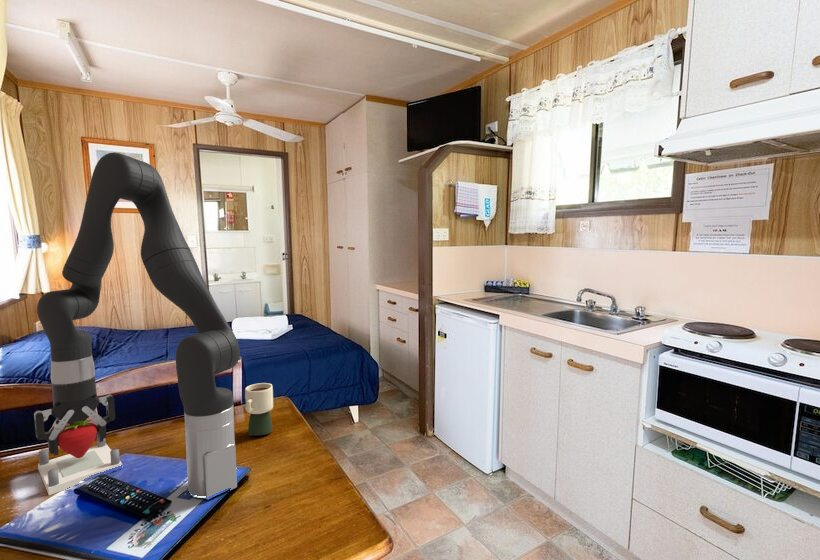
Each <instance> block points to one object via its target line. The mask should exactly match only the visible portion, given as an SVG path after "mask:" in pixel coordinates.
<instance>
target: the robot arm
mask: <svg viewBox="0 0 820 560" xmlns="http://www.w3.org/2000/svg"><path fill="white" fill-rule="evenodd" d="M120 199H121V200H125V201H129V202H132V203H133V204H134V205H135V207H136V209H137V211H138V213H139V215H140V217H141V219H142V222H143V227H144V232H143V236H142V240H141V245H140V247H141V248H140V258H141V262H142V265H143V266H144V268H145V271H146V273H147V275H148V277H149V279H150V281H151V283H152V285H153V286H154V288H155V289H156V290H157V291H158V292H159V293H161V295H162V296H163V297H165V298H166V299H167V300H169V301H170V302H172V303H173V304H174V305H175V306H177V307H178V308H179V309H180V310H182V311H183V313H185V314H186V316H187V317H188V318H189V320H190V321H191V322H192V324H193V326H194V327H195V329H196V332H197V333H194V334H192V335H188V336H185V337H184V338H182V339H181V340H180V341H179V343H178V344H177V347H176V350H175V351H176V352H175V367H176V368H175V369H176V376H177V385H178V394H179V398H180V400H181V402H182V406H183V411H184V412H183V414H184V431H185V432H184V433H185V434H184V436H185V452H186V453H185V454H186V475H187V492H188V491H189V492H190V493H191V494H193V495H197V496H206V497H207V498H208V497H209V496H212V495H214V494H216V493H218V492H220V491H223V490H225V489H228V488H231V489H230V491H232V490H234V489H236V488H238V480H237V478H238V477H237V476H238V475H237V455H236V451H237V450H236V439H235V438H236V437H235V411H234V410H235V409H234V393H233V391H232V390H230V389H229V388H227V387H218V386H217V385H216V379H215V375H218V374H220V373H224V372H226V371H228V370H230V369H232V368H234V367H236V365H237V364H238V363H239V360H240V356H241V355H240V354H241V350H240V345H239V341H238V339H237V337H236V336H235V333H234V332H233V330H232V327H231V326H230V324H229V323H228V322H227V319H226V318H225V317H224V315H223V313H222V312H221V310H220V308H219V307H218V304H217V303H216V301H215V299H214V298H213V295H212V293H211V291H210V289H209V287H208V285H207V283H206V281H205V279H204V278H203V275H202V273H201V271H200V268H199V265H198V264H197V261H196V259H195V257H194V254H193V253H192V250H191V248H190V246H189V244H188V243H187V241H186V239H185V236H184V235H183V232H182V229H181V228H180V225H179V223H178V221H177V219H176V216H175V214H174V211H173V209H172V206H171V202H170V199H169V196H168V193H167V190H166V187H165V184H164V181H163V179H162V176H161V174H160V173H159V171H158V170H157V169H156V168H155V167H154V166H153V165H151V164H150V163H147V162H145V161H144V160H140V159H137V158H135V157H132V156H129V155H126V154H124V153H120V152H109V153H106V154H104V155H102V156H101V157H100V159H99V160H98V161H97V162H96V165H95V166H94V169H93V172H92V175H91V178H90V182H89V187H88V191H87V196H86V200H85V204H84V209H83V214H82V217H81V222H80V227H79V230H78V233H77V236H76V238H75V241H74V244H73V246H72V247H71V251H70V252H69V255H67V256H68V257H67V258H66V261H65V264H64V265H63V268H62V272H61V273H62V276H63V278H64V279H65V280H66V281H68V283H69V282H70V283H71V286H70V287H69V288H68V289H67V288H66V289H60V290H57V289H56V290H51V291H48V292H46V293H44V294H42V296H41V297H40V298H39V300H38V302H37V304H36V305H37V306H36V314H37V317H38V320H39V323H40V324H41V326H42V328H43V330H44V333H45V336H46V337H47V340H48V341H49V348H50V359H51V360H50V361H51V362H50V381H51V392H52V407H51V408H49V409H46V410H40V409H39V410H38V409H37V410H35V411H34V412H33V419H34V431H35V436H36V438H37V440H38V441H44V440H45V441H47V446H48V448H47V449H48V453H49V454H51V455H53V456H54V457H55V456H58V455H59V445H58V439H57V437H58V435H59V434H60V433H61V432H62V431H63V430H64V429H65V428H64V427H65V426H67V424H68V425H71V424H73V423H75V422H77V421H87V419H89V418H90V419H91V420H92V421H94V422H95V423H97V424H96V426H97V428H98V433H97V436H96V438H97V437H98V441H99V442H103V439H104V438H105V439H106V438H107V424H108V423H111V422H113V421H115V419H116V409H115V408H116V407H115V406H116V404H115V397H114V396H113V395H112V394H110V393H108V394H106V395H105V396H101V397H98V395H97V385H96V383H97V382H96V371H95V370H96V369H95V360H94V358H93V348H92V337H91V333H90V332H88V331H87V330H83V329H77V328H76V325H75V324H74V321H75V320H81V319H85V318H88V317H90V316H91V315H92V314H93V313H94V312H95V311H96V310H97V308H98V306H99V303H100V297H101V291H102V279H103V277H104V276H105V274H106V272H107V269H108V267H109V265H110V263H111V261H112V258H113V255H114V248H115V247H114V246H115V245H114V244H115V243H114V236H113V231H112V216H113V212H114V209H115V207H116V205H117V204H118V202H119V201H120ZM100 403H101V404H102V405H103V406H105V411H106V412H105V414H106V416H105V415H104V417H102V416H100V415H99V414H98V412H96V411H95V410H96V409H97V408H98V406H99V405H100ZM50 415H52V416H53V417H54V418H56V419H55V420H54V422H53V424H52V427H51V428H50V429H49V430H48V431H45V422H46V421H47V420H48V419H49V416H50Z"/></svg>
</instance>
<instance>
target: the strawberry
mask: <svg viewBox="0 0 820 560" xmlns="http://www.w3.org/2000/svg"><path fill="white" fill-rule="evenodd" d="M92 421H93V419H88V420H83V421H77V422H75V423H72V424H68V425H65V426H64V428H63V429H62V430H61V431H60V432H59V434H58V435H57V439H58V448H59V449H61V450H62V451H64V453H66V454H67V455H68V454H70V455H72V456H74V457H76V458H81V457H83V456H84V455H85V454H86V452H87V451H88V449H89V448H91V447H92V445H93V444H94V442H95V440H97V433H98V428H97V424H95V423H93V422H92Z"/></svg>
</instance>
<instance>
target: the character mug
mask: <svg viewBox="0 0 820 560" xmlns="http://www.w3.org/2000/svg"><path fill="white" fill-rule="evenodd" d="M273 388H274V387H273V384H272V383H267V382H260V383H258V382H257V383H254V384H250V385H247V386H246V387H245V388H244V399H245V408H244V409H245V411H246V412H247V413H249V414H250V415H249V419H248V427H247V428H248V429H247V430H248V431H247V435H249V436H255V437H256V436H257V437H258V436H264V435H268V434H271V432H273V421H272V417H271V412H270V411H272V410H273V408H274V389H273Z"/></svg>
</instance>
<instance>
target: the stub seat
mask: <svg viewBox="0 0 820 560" xmlns="http://www.w3.org/2000/svg"><path fill="white" fill-rule="evenodd" d="M96 441H97V443H96V444H97V445H94V446H91V447H90V448H89V449H88V451H87V452H86V454H85V455H84V456H83V457H81V458H76V457H74V456H72V455H70V454H68V453H67V454H65V455H61V456H59V457H55V458H52V459H50V456H49V454H50V453H49V449H48V448H45V449H41V450H39V451H38V460H39V462H38V463H37V468H38V473H39V475H40V478H41V479H42V483H43V484H44V487H45V489H46V491H47V495H48V496H51V495H55V494H57V493H59V492H62V491H64V490H65V491H66V490H67V488H68V489H70V488H69V487H71V488H73V487H72V486H74V485H75V484H77V483H79V482H80V481H82V480H84V479H85V478H87V477H89V476H91V475H94V474H96V473H100V472H104V471H106V470H109V469H112V468H115V467H118V466H121V465H122V466H123V462H122V461H121V460H120V458H121V457H120V449H119V448H115V449H111V448H110V447H109V446H108V445H109V444H107V443H106V442H107V441H106V438H104V439H103V442H99V441H98V437H97V436H96ZM74 487H75V486H74Z"/></svg>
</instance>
